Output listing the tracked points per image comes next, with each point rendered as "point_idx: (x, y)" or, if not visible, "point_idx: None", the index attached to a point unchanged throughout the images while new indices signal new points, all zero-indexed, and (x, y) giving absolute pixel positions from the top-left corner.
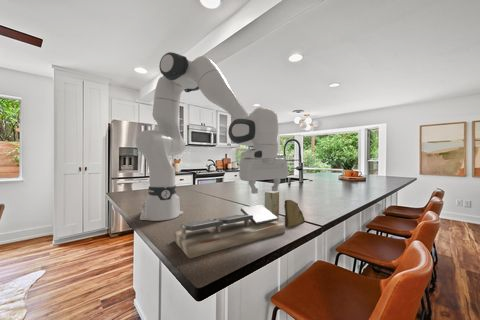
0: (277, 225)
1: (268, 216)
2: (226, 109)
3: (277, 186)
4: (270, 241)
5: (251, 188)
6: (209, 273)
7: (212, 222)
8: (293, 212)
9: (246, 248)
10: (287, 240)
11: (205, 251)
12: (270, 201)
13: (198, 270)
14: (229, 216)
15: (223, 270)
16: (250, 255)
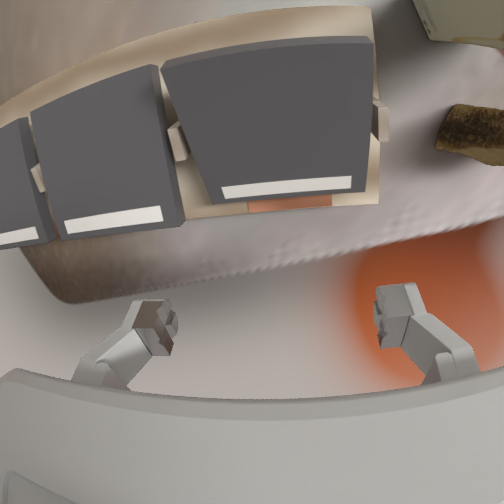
0: (330, 206)
1: (318, 173)
2: None
3: (410, 346)
4: (253, 227)
5: (122, 326)
6: (69, 287)
7: (21, 240)
8: (501, 165)
9: (154, 236)
10: (315, 246)
11: None
12: (487, 28)
13: (51, 271)
14: (96, 97)
15: (91, 290)
16: (153, 271)
